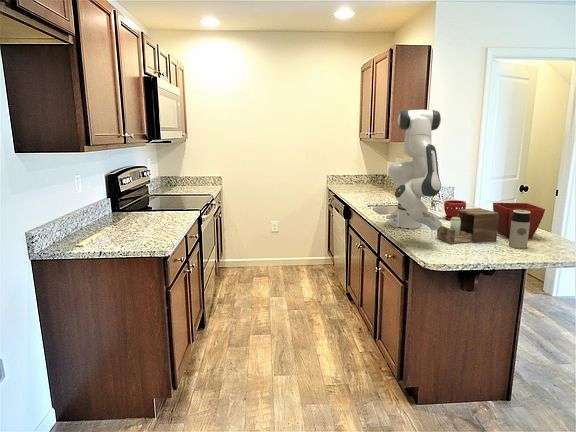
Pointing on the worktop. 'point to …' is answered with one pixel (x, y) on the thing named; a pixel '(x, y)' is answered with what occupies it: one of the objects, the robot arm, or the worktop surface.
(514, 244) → the travel mug
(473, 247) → the worktop surface
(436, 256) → the worktop surface
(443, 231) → the wooden drawer
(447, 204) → the plant pot
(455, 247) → the worktop surface
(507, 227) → the plant pot
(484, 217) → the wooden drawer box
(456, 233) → the spice jar
